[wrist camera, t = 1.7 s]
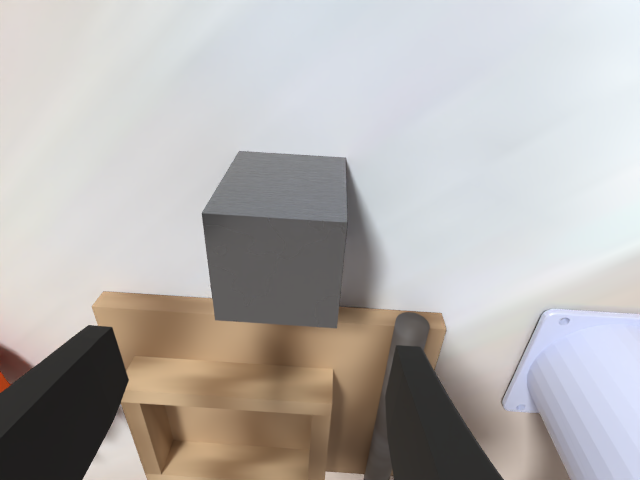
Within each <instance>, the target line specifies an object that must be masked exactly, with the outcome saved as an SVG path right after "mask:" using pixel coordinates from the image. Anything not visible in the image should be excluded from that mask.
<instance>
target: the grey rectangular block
mask: <svg viewBox="0 0 640 480" xmlns="http://www.w3.org/2000/svg"><path fill="white" fill-rule="evenodd" d="M202 219H203V227H204V235H205V243H206V251H207V259H208V267H209V275H210V283H211V292H212V300H213V308H214V316H215V320H218V321H233V322H248V323H263V324H278V325H293V326H308V327H323V328H337V323H338V313H339V303H340V293H341V283H342V273H343V262H344V252H345V242H346V232H347V190H346V158H343V157H327V156H310V155H294V154H278V153H262V152H246V151H239V152H238V154H237V156H236V157H235V159H234V161H233V162H232V164H231V166H230V167H229V169H228V171H227V172H226V174H225V176H224V177H223V179H222V180H221V182H220V184H219V185H218V187H217V189H216V190H215V192H214V194H213V195H212V197H211V199H210V200H209V202H208V204H207V205H206V207H205V209H204V210H203V212H202Z"/></svg>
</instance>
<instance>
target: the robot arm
mask: <svg viewBox="0 0 640 480" xmlns="http://www.w3.org/2000/svg"><path fill="white" fill-rule="evenodd" d="M562 318H564V319H562ZM560 319H562V320H560ZM128 381H129V379H128V375H127V372H126V369H125V366H124V363H123V359H122V356H121V353H120V350H119V347H118V344H117V340H116V337H115V334H114V331H113V328H112V327H107V326H92V325H88V326H87V327H86V328H84V329H83V330H82V331H80V332H79V333H78V334H76V335H75V336H74V337H72V338H71V339H70V340H68V341H67V342H66V343H65V344H63V345H62V346H61V347H59V348H58V349H57V350H56V351H54V352H53V353H52V354H50V355H49V356H48V357H47V358H45V359H44V360H43V361H42V362H40V363H39V364H38V365H36V366H35V367H34V368H32V369H31V370H30V371H29V372H27V373H26V374H25V375H23V376H22V377H21V378H19V379H18V380H17V381H15V382H14V383H13V384H12V385H10V386H9V387H8V388H6V389H5V390H4V391H2V392H1V393H0V480H82V479H83V478H84V476H85V474H86V472H87V470H88V468H89V466H90V464H91V462H92V461H93V459H94V457H95V455H96V453H97V451H98V449H99V447H100V445H101V444H102V442H103V440H104V438H105V436H106V434H107V432H108V430H109V428H110V426H111V424H112V422H113V420H114V418H115V416H116V413H117V411H118V408H119V406H120V403H121V400H122V398H123V395H124V392H125V390H126V387H127V384H128ZM502 404H503V407H504V409H505V410H507V411H515V412H530V413H540V416H541V418H542V420H543V422H544V424H545V426H546V428H547V431H548V433H549V435H550V437H551V439H552V441H553V444H554V446H555V448H556V450H557V452H558V454H559V456H560V459H561V461H562V463H563V465H564V467H565V469H566V471H567V474H568V476H569V478H570V480H640V314H628V313H612V312H596V311H581V310H565V309H549V310H547V311H545V312H544V313H543V314H542V316H541V318H540V320H539V322H538V324H537V326H536V329H535V331H534V333H533V335H532V337H531V340H530V342H529V344H528V346H527V348H526V350H525V353H524V355H523V357H522V359H521V361H520V363H519V366H518V368H517V370H516V372H515V374H514V376H513V379H512V381H511V383H510V385H509V387H508V390H507V392H506V394H505V396H504V398H503V400H502ZM385 405H386V424H387V438H388V445H389V451H390V458H391V464H392V470H393V476H394V480H504V479H503V478H502V477H501V475H500V474H499V473H498V471H497V470H496V468H495V467H494V466H493V464H492V463H491V461H490V460H489V458H488V457H487V455H486V454H485V453H484V451H483V450H482V448H481V447H480V445H479V444H478V442H477V441H476V439H475V438H474V436H473V435H472V433H471V432H470V430H469V428H468V427H467V425H466V424H465V422H464V421H463V419H462V417H461V416H460V414H459V413H458V411H457V409H456V408H455V406H454V404H453V403H452V401H451V399H450V398H449V396H448V394H447V393H446V391H445V389H444V387H443V386H442V384H441V382H440V380H439V379H438V377H437V375H436V373H435V371H434V369H433V368H432V366H431V364H430V362H429V360H428V358H427V356H426V354H425V352H424V350H423V349H422V348H421V347H418V346H402V345H396V347H395V352H394V357H393V362H392V366H391V371H390V376H389V381H388V385H387V390H386V395H385Z"/></svg>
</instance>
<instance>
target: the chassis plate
mask: <svg viewBox="0 0 640 480" xmlns="http://www.w3.org/2000/svg"><path fill="white" fill-rule="evenodd" d="M92 309H93V312H94V315H95V318H96V321H97V324H98V326H107V327H112V328H113V331H114V334H115V337H116V340H117V344H118V347H119V350H120V353H121V356H122V359H123V363H124V366H125V369H126V372H127V375H128V379H129V381H128V384H127V387H126V390H125V392H124V395H123V398H122V400H121V405H122V408H123V411H124V414H125V417H126V420H127V423H128V426H129V428H130V431H131V434H132V437H133V440H134V443H135V446H136V449H137V452H138V454H139V457H140V460H141V463H142V466H143V469H144V472H145V475H146V478H147V480H325V471H328V472H343V473H357V474H365V475H364V480H389V479H390V476H393V470H392V464H391V458H390V451H389V445H388V438H387V424H386V405H385V395H386V390H387V385H388V381H389V376H390V371H391V366H392V362H393V357H394V352H395V347H396V345H402V346H418V347H421V348H422V349H423V350H424V352H425V354H426V356H427V358H428V360H429V362H430V364H431V366H432V368H433V369H434V370H435V366H436V363H437V360H438V356H439V353H440V350H441V346H442V343H443V340H444V336H445V333H446V326H445V323H444V320H443V317H442V313H431V312H416V311H400V310H384V309H369V308H353V307H339V313H338V323H337V328H323V327H308V326H293V325H278V324H263V323H248V322H233V321H218V320H215V316H214V308H213V300H212V298H198V297H182V296H167V295H151V294H135V293H120V292H104V291H103V293H102V294H101V295H100V296H99V298H98V299H97V300H96V302H95V303H94V304H93V306H92Z"/></svg>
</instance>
